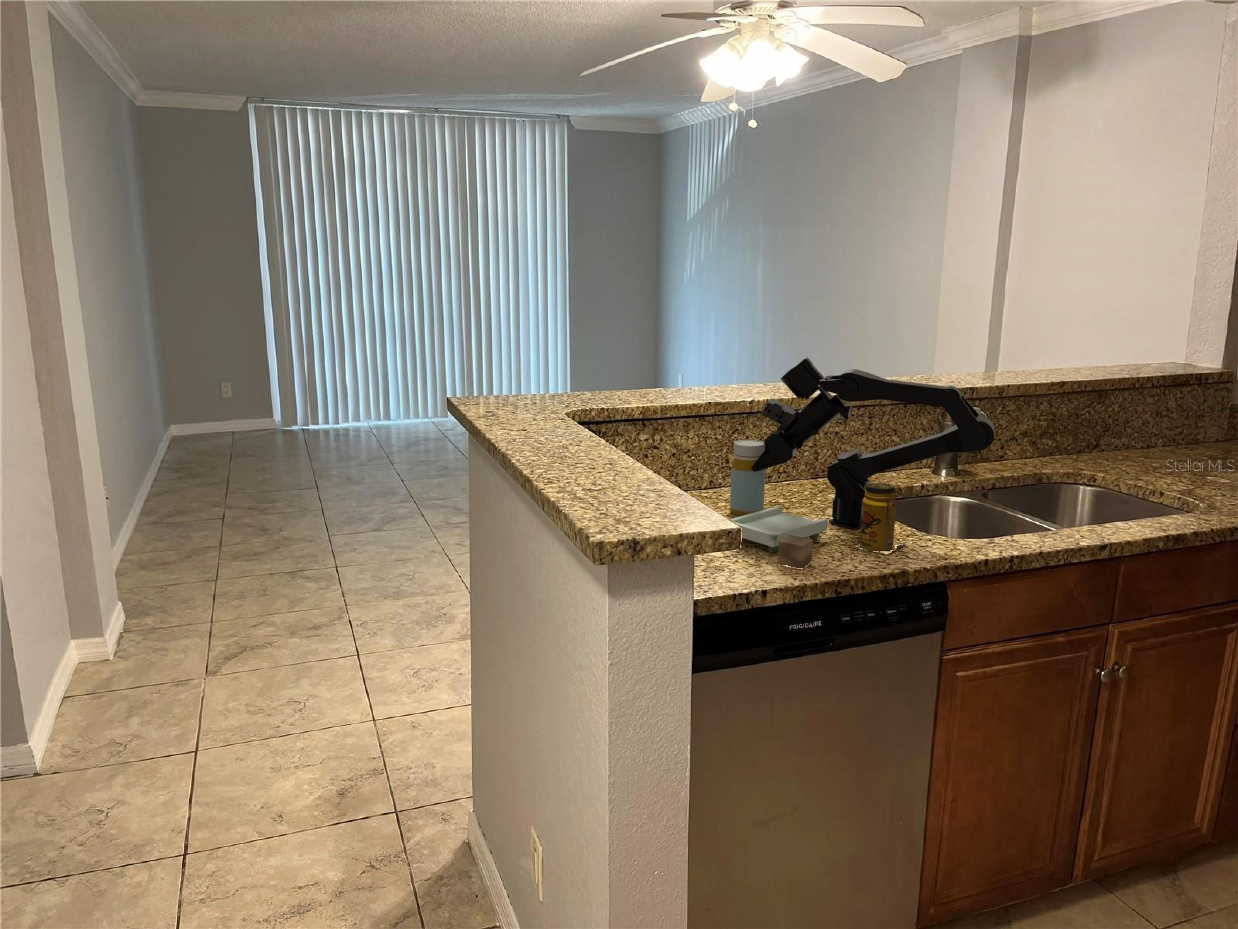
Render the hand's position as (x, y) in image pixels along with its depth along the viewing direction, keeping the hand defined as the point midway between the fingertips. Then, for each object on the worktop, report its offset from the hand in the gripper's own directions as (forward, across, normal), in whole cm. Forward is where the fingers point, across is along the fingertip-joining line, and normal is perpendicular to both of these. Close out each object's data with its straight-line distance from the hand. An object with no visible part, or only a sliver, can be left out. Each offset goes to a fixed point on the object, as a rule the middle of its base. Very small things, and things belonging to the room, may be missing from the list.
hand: (757, 465), depth 192 cm
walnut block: (-2, +29, +17) cm, 33 cm away
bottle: (+9, 0, +6) cm, 11 cm away
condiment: (-11, +13, +26) cm, 31 cm away
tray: (+2, +16, +13) cm, 21 cm away
